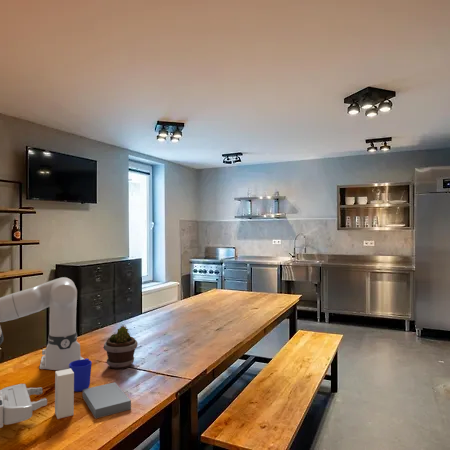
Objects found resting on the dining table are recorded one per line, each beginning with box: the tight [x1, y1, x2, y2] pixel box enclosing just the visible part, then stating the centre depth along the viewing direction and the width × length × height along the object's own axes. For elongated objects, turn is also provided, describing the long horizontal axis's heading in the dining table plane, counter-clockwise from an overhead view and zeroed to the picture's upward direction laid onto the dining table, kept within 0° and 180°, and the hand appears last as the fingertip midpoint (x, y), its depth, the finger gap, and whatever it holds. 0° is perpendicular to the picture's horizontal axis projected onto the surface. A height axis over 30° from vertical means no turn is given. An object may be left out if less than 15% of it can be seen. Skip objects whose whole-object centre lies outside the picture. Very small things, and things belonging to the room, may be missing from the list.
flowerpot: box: [102, 324, 138, 370], centre depth 171 cm, size 14×15×20 cm
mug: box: [68, 358, 93, 392], centre depth 148 cm, size 8×12×10 cm
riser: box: [82, 381, 132, 419], centre depth 134 cm, size 18×12×3 cm, turn 34°
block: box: [54, 368, 75, 420], centre depth 127 cm, size 5×5×14 cm
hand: (44, 395), depth 123 cm, fingers open, 8 cm apart
